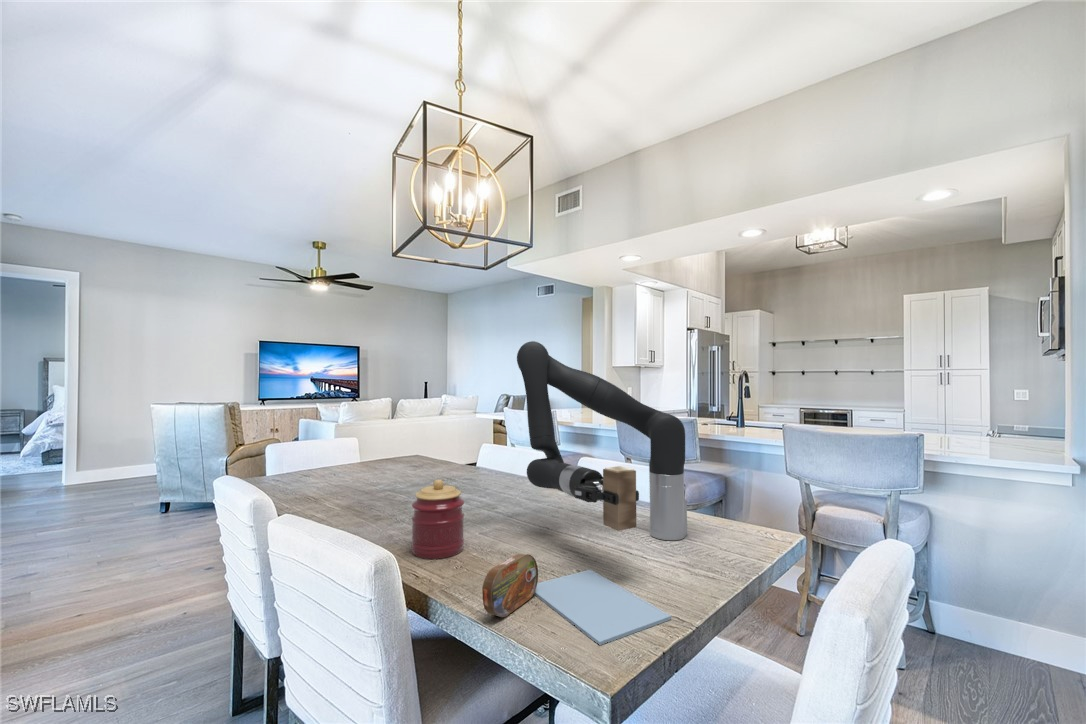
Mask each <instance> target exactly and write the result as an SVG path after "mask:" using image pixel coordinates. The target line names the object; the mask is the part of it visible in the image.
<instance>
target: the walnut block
mask: <svg viewBox="0 0 1086 724" xmlns="http://www.w3.org/2000/svg"><path fill="white" fill-rule="evenodd" d="M602 476H603V489H605V491H610V492H613V493H616V494H618V496H619V503H618V504H617V505H614V504H611V503H608V502H602V505H603V506H602V508H603V509H602V511H603V513H602V516H603V518H602V519H603V521H602V522H603V523H602V525H604V526H605V527H608V528H610V529H613V530H614V531H617V532H620V531H624V530H629V529H634V528H637V501H636V490H637V470H635V469H634V468H630V467H626V466H622V465H618V466H611V467H604V468H603V469H602Z"/></svg>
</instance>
